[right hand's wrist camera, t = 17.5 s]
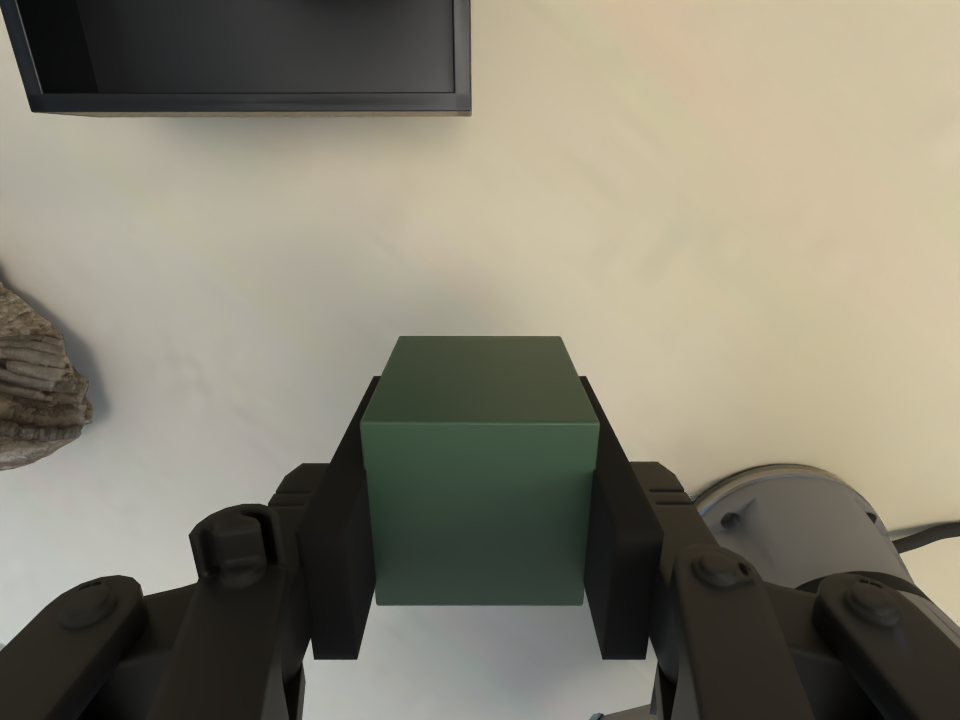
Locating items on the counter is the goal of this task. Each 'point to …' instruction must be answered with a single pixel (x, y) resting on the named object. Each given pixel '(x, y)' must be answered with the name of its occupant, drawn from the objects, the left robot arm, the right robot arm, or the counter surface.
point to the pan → (243, 57)
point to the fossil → (36, 386)
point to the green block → (479, 472)
